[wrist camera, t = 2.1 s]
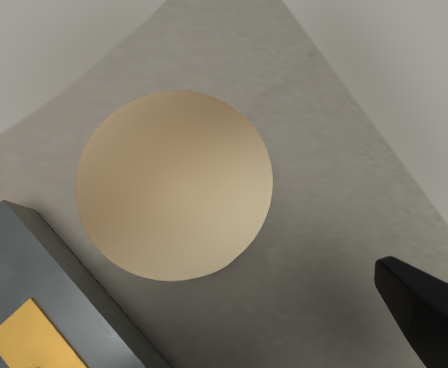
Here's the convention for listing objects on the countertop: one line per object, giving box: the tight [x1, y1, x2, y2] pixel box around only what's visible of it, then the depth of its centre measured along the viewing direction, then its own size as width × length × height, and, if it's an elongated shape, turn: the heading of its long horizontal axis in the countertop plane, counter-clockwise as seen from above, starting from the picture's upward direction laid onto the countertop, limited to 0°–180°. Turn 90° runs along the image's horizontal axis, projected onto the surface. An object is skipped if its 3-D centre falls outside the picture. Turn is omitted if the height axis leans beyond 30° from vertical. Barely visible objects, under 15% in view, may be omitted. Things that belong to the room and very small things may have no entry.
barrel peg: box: [75, 90, 273, 281], centre depth 14 cm, size 4×4×12 cm
